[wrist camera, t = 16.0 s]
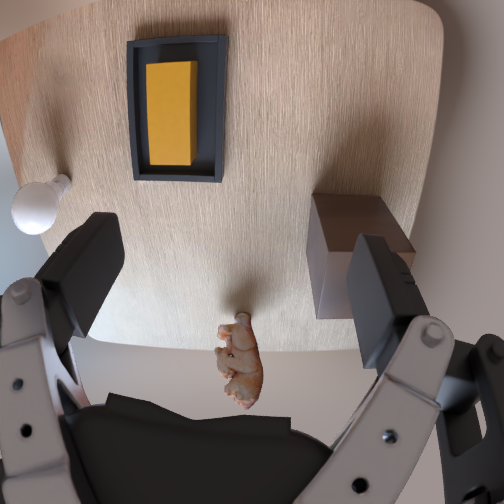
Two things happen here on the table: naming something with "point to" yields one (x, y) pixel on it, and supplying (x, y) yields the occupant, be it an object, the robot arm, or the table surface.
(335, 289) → the stand
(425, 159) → the table surface
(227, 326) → the figurine
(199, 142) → the tray
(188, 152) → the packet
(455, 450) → the robot arm
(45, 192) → the lightbulb
